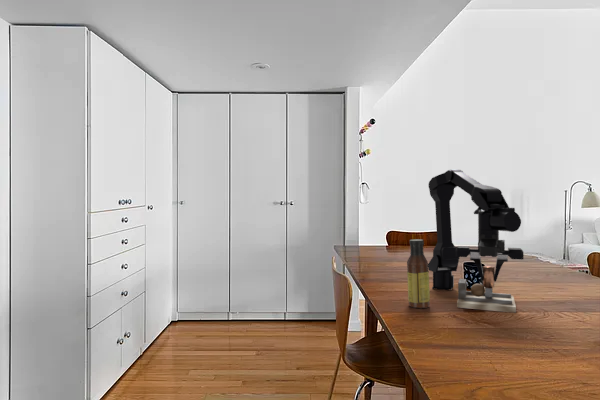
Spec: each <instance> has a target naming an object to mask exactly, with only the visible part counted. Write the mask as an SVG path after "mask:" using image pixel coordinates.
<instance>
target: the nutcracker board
mask: <svg viewBox="0 0 600 400" xmlns="http://www.w3.org/2000/svg"><path fill="white" fill-rule="evenodd" d="M457 282H458V283H457V285H458V286H457V301H456V308H459V309H470V310H471V309H473V310H481V311H492V312H494V311H495V312H503V313H514V314H515V313H517V307H516V302H515V296H514V295H512V294H511V293H501V292H500V293H499V292H492V299H487V298H485V293H484V294H483V295H482V296H480V297H476V296H474V295H473V294H472V293H471V290H467V279H466V278H459V279H458V281H457Z"/></svg>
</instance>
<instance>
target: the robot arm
mask: <svg viewBox="0 0 600 400" xmlns="http://www.w3.org/2000/svg"><path fill="white" fill-rule="evenodd" d="M457 187H458V188H460V189H461V190H462V191H464V192H465V193H467V194H468V195H469V196H470V199H471V201H472V202H473V203H474V204H475V205H476V207H478V208H477V209H475V210H474V211H473V214H474V215H477V221H478V222H477V225H478V227H477V228H478V229H477V231H478V233H477V234H478V235H477V237H478V238H477V239H478V240H477V241H478V242H477V248H471V247H470V245H469V246H467V245H466V246H463V245H458V246H456V245H454V243H453V236H452V234H453V233H452V219H451V216H452V214H451V200H452V198H453V197H454V195H455V193H454V192H455V189H456V188H457ZM428 190H429V196H430V197H431V198H432V200H433V201H434V205H435V222H436V241H437V242H436V244H435V245H434V248H433V251H432V258H431V259H430V260H429V262H428V271H429V272H432V287H431V289H432V290H443V291H444V290H445V291H452V290H453V288H454V287H455V285H454V284H455V281H454V280H455V276H454V275H453V272H457V270H458V266H459V263H460V258H468V256H470V257H469V261H473V262H474V264H475V266H476V268H477V270H478V274H479V277H480V280H481V282H483V266H482V264H483V263H482V257H484V258H485V257H492V258H496V262H495V282H497V279H498V277H499V274H500V272H501V268H502V267H503V265H504V263H505V262H506V263H508V262H509V259H508V258H510V259H512V260H524V256H525V255H524V250H523V249H522V248H520V247H507V249H505V248H506V246H505V244H506V243H505V242H506V240H505V239H500V236H499V235H500V232H501V231H502V232H509V233H510V232H511V233H514V232H517V231H518V230H519V229H520V228H521V225H522V219H521V218H520V215H519V214H518V213H517V212H516V209H515V207H510V206H509V204H508V203H507V201H506V199H505V197H504V195H503V192H502V190H501V189H500V188H497V187H494V186H490V185H487V184H482V183H480V182H479V181H477V180H476V179H474V178H473V177H471V176H470V175H468V174H466V173H465V172H464V171H463V170H461V169H448V170H446V171H445V172H443V173H441V174H437V175H435V176H433V177H432V178H431V179H430V180H429V181H428Z"/></svg>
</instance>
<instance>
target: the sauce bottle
mask: <svg viewBox="0 0 600 400" xmlns="http://www.w3.org/2000/svg"><path fill="white" fill-rule="evenodd" d="M424 245H425V243H424V239H417V238H416V239H409V246H410V252H409V253H410V255H409V257H408V259H407V261H406V267H407V268H406V269H407V271H406V275H407V296H408V297H407V301H408V306H410V307H411V308H413V309H414V308H416V309H427V308H429V307H430V305H431V304H430V303H431V302H430V301H431V296H430V293H431V291H430V275H429V272H430V271H429V269H428V264H429V262H428V260H427V258H426V256H425V254H424V253H425V252H424Z"/></svg>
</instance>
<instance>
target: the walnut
mask: <svg viewBox="0 0 600 400" xmlns="http://www.w3.org/2000/svg"><path fill="white" fill-rule="evenodd" d="M470 291H471V293H472V294H473V295H474V296H476V297H480V296H482V295H483V294H484V293H485V287H483V284H481V283H474V284H473V285H472V286H471V287H470Z"/></svg>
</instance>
